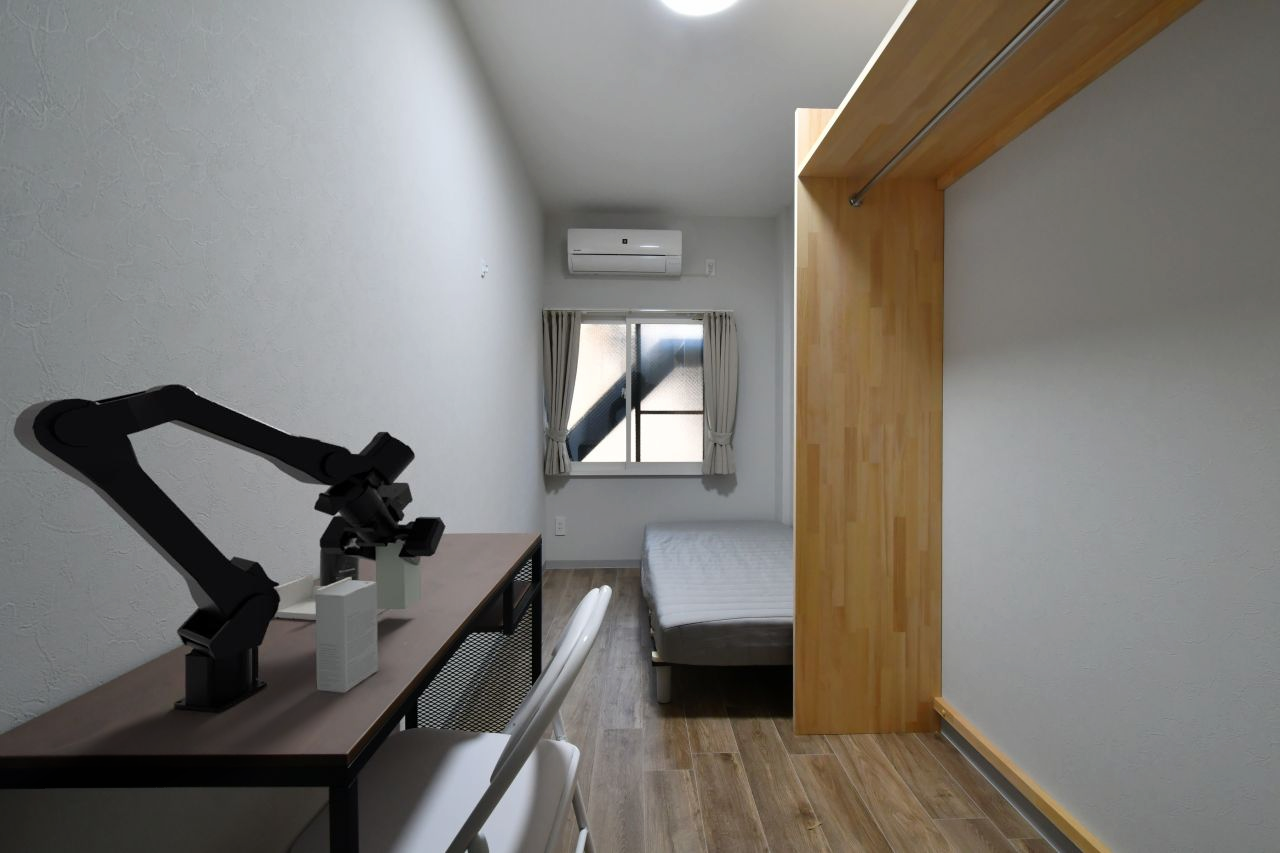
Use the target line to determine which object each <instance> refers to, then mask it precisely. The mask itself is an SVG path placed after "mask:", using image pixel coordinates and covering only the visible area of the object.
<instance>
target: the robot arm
mask: <svg viewBox="0 0 1280 853" xmlns="http://www.w3.org/2000/svg"><path fill="white" fill-rule="evenodd" d="M166 423H171V424H173V425H176V426H178V427H181V428H184V429H186V430H189V431H192V432H194V433H197V434H199V435H202V436H204V437H207V438H211V439H213V440H215V441H218V442H221V443H222V444H225V445H228V446H231V447H234V448H237V449H239V450H242V451H245V452H247V453H249V454H252V455H255V456H257V457H260V458H262V459H264V460H266V461H268V462H270V463H271V464H273V465H274V466H275V467H276V468H277V469H278V470H279V471H281V472H283V473H284V474H286V475H288V476H289V477H291V478H292V479H294V480H296V481H298V482H300V483H302V484H307V485H317V486H319V485H320V486H328V488H327V489H326V491H324V492H319V493H318V498H317V500H316V501H315V504H314V507H313V509H314V510H315V511H318V512H321V513H322V514H326V515H328V516H331V517H332V518H331V520H330V521H329V523H328V525H327V527H326V528H325V530H324V532H323V534H322V535H321V537H320V538H319V547H320V550H321V549H322V550H323V551H324V552H325V553H326V554H341V553H342V552H343V551H344V549H345V548H346V550H345V552H344V554H345V555H346V556H352V557H357V558H359V559H362V560H366V561H371V562H375V563H376V546H377V547H387V545H388V544H395V543H396V542H397V540H401V542H402V543H404V544H403V547H402V549H401V551H400V553H399V556H398V557H400V558H402V559H404V560H406V561H408V562H410V563H412V564H414V565H418V564H419V562H420V556H421V557H431V556H433V555H435V554H436V552H437V550H438V549H437V548H438V547H439V544H440V542H441V539H442V537H443V534H444V532H445V529H446V525H445V523H444V521H443V520H442V518H441V517H440V516H419V517H416V518H415V519H414V520H413V521H412V520H411V521H409V522H408V523H407V524H399V522H402V521H403V519H404V518H405V513H404V511H403V510H405V508H406V507H407V506H408V505H409V504H411V503H412V502H413V501H414V500H413V496H412V492H411V489H410V488H411V487H410V485H409V483H408V482H395V481H396V480H397V479H398V477H399V476H401V474H402V473H403V472H404V471H405V470H406V469H407V467H408V466H409V465H410V464H411V463H412V462H413V461H414V460H415V458H416V456H415V453H414V451H413V448H411V447H410V446H409V445H408V444H406V443H405V442H403V441H402V440H400V439H398V438H396V437H394V436H392V435H391V434H390V433H389V432H388V431H378V432H377V433H376V434H375V435H374V436H373V438H372V439H371V440H370V442H369V443H368V444H367V445H365V447H364V448H363V449H362V450H361V451H360V452H359V453H352V452H351V451H350V450H349V448H347V447H346V446H344V445H341V444H338V443H336V442H335V443H334V442H330V441H327V440H326V441H325V440H322V439H319V438H314V437H308V436H302V435H298V434H297V435H296V434H293V433H289V432H287V431H285V430H283V429H280V428H278V427H276V426H273V425H272V424H268V423H266V422H264V421H262V420H260V419H257V418H255V417H253V416H251V415H248V414H246V413H243V412H241V411H239V410H237V409H234V408H232V407H229V406H227V405H225V404H223V403H220V402H218V401H216V400H214V399H211V398H209V397H206V396H204V395H202V394H200V393H197V392H196V391H194V390H193V389H192V388H191V387H188V386H186V385H182V384H173V383H170V384H162V385H155V386H152V387H150V388H148V389H146V390H141V391H136V392H133V393H132V392H131V393H126V394H121V395H117V396H112V397H107V398H102V399H97V400H90V399H84V398H78V397H77V398H64V399H51V400H44V401H40V402H36V403H34V404H33V403H32V404H31V405H30V406H28V407H26V408H25V409H23V410H22V411H21V412H20V414H19V415H18V416H17V417H16V420H15V424H14V427H13V434H14V437H15V438H16V440H17V441H18V442H19V444H20V445H21V446H22V447H23V448H24V449H26V450H28V451H29V452H31V453H32V454H34V455H35V456H37V457H38V458H40V459H41V460H43V461H44V462H46V463H48V464H49V465H51V466H52V467H54V468H55V469H57V470H58V471H60V472H62V473H64V474H66V475H68V476H69V477H71V478H73V479H75V480H76V481H78V482H80V483H82V484H84V486H86V487H88V488H90V489H92V490H93V492H95V494H96V495H98V496H99V497H100V498H101V499H102V500H103V501H104V502H105V503H106V504H107V505H108V506H109V507H110V508H111V509H112V510H113V511H114V512H115V513H117V515H119V517H120V518H121V519H123V520H124V521H125V523H126V524H128V525H129V526H130V528H132V529H133V530H134V531H135V532H136V533H137V534H138V535H139V536H140V537H141V538H142V539H143V540H145V542H147V544H148V545H149V546H151V547H152V549H153V550H155V551H156V552H157V553H158V555H160V557H162V558H163V559H164V561H166V562H167V563H168V564H169V565H170V566H171V567H172V568H173V569H174V570H175V571H177V572H178V574H179V575H180V576H181V577H182V578H183V579H184V581H185V582H186V585H187V587H188V588H187V589H188V590H189V593H190V595H191V598H192V600H193V601H194V603H195V604H196V606H197V609H196V610H195V611H193V613H192V614H191V615H190V616H189V617H188V618H187V619H185V621H184V622H183V623H182V624H181V625H180V626H179V627H178V629H177V630H176V634H177V635H178V637H179V640H180V642H181V643H182V645H184V646H189V647H190V648H192V649H191V651H190V652H189V653H186V654H184V661H185V662H184V668H185V669H184V674H185V675H184V676H185V677H184V678H185V679H184V680H185V681H184V682H185V683H184V685H185V686H184V688H185V690H184V691H185V692H184V693H185V694H184V695H185V696H184V697H183V698H180V699H178V700H176V701H175V702H173V708H175V709H184V710H196V711H204V712H211V713H212V712H215V713H217V712H223V711H225V710H226V709H228V708H230V707H232V706H234V704H237V703H239V702H240V701H242V700H244V699H245V698H248V697H249V696H251V695H252V694H254V693H256V692H258V691H260V690H262V689H264V688H265V687H267V686H268V680H262V679H261V680H260V679H258V678H259V647H260V646H262V644H263V641H264V639H265V636H266V633H267V630H268V628H269V625H270V622H271V621H272V620H273V618H275V617H274V616H275V614H276V612H277V610H278V606H279V603H280V601H281V600H280V595H279V594H278V592H277V590H276V589H275V588H276V587H278V586H280V583H279V582H276V581H275V580H272V579H271V577H269V576H268V574H267V573H266V571H265V569H264V568H263V567H262V565H261V564H260V563H259V562H258V561H255V560H252V559H251V560H250V559H246V558H242V557H238V556H233V557H232V558H231V559H230V558H229V559H228V558H227V557H226V555H224V553H222V551H221V550H220V549H219V548H218V547H217V545H215V544H214V543H213V542H212V541H211V540H210V539H209V538H208V537H207V536H206V535H205V534H204V532H202V531H201V529H200V528H199V527H198V526H197V525H196V524H195V523H194V522H193V521H192V519H190V518H189V517H188V515H186V514H185V512H183V510H181V508H180V507H179V506H178V505H177V504H176V503H175V501H173V500H172V499H171V498H170V497H169V496H168V495H167V493H165V491H163V489H161V487H160V486H159V485H158V484H157V483H156V482H155V481H154V480H153V479H152V477H150V476H149V475H148V474H147V473H146V472H145V470H144V469H143V468H142V466H141V465H140V462H139V460H138V457H137V454H136V452H135V448H134V447H133V444H132V441H131V440H130V438H129V435H133V434H137V433H140V432H143V431H146V430H149V429H152V428H154V427H157V426H161V425H163V424H166ZM338 513H339V514H340V515H337V514H338ZM344 547H345V548H344Z"/></svg>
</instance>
